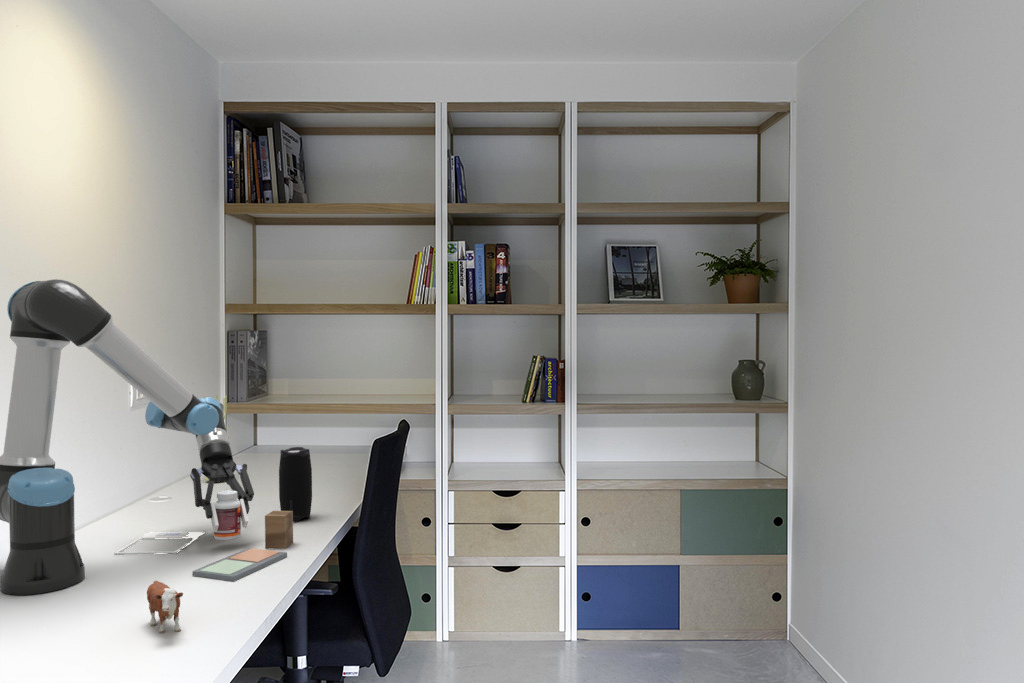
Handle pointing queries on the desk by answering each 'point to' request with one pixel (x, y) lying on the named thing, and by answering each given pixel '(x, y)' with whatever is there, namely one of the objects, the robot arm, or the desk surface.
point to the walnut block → (279, 529)
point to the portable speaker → (295, 482)
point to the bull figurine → (163, 604)
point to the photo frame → (152, 536)
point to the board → (240, 564)
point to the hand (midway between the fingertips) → (231, 526)
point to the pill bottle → (228, 515)
